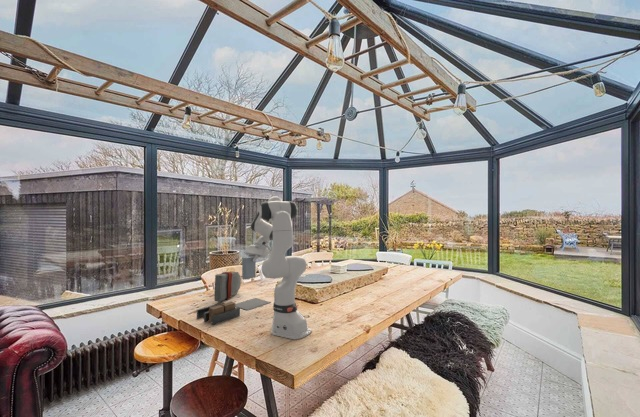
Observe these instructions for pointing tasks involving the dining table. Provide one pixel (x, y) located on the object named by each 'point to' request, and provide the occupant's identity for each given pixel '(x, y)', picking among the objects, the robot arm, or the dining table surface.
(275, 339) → the dining table surface
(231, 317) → the rack
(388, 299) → the dining table surface
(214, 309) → the offcut
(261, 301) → the mat
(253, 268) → the panel
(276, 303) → the robot arm
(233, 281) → the decorative stone tablet
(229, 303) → the offcut
